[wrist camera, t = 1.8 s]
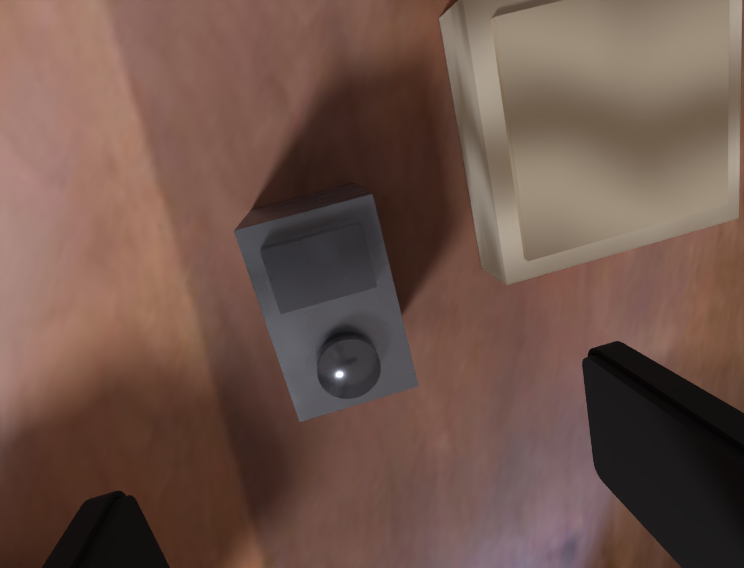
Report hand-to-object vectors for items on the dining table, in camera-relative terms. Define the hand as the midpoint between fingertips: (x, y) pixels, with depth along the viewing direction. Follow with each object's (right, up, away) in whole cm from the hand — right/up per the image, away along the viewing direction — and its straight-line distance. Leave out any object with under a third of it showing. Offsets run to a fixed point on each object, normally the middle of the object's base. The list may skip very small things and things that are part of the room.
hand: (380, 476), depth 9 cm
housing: (-3, +4, +14) cm, 15 cm away
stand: (+10, +12, +13) cm, 20 cm away
